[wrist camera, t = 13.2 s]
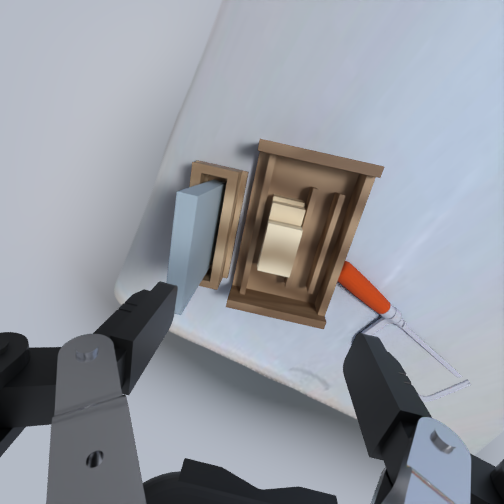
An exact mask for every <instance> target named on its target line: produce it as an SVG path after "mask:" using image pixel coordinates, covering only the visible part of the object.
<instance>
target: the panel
mask: <svg viewBox="0 0 504 504" xmlns="http://www.w3.org/2000/svg"><path fill="white" fill-rule="evenodd" d="M226 184H227V182H223V181H218V180H211V181H208V182H205V183H202V184H198V185H195V186H192V187H189V188H186V189H183V190H180V191H177V195H176V204H175V213H174V221H173V230H172V239H171V248H170V257H169V265H168V274H167V283H169V284H173V285H177V287H178V291H177V298H176V304H175V311H174V314H178V315H181V314H182V312H183V311H184V309H185V307H186V306H187V304H188V302H189V301H190V299H191V297H192V296H193V294H194V292H195V291H196V289H197V287H198V286H199V284H200V282H201V281H202V279H203V277H204V276H205V274H206V273H207V271H208V269H209V268H210V266H211V264H212V263H213V257H214V252H215V246H216V241H217V235H218V230H219V224H220V218H221V213H222V207H223V202H224V196H225V190H226Z"/></svg>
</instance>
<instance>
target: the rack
mask: <svg viewBox="0 0 504 504" xmlns="http://www.w3.org/2000/svg"><path fill="white" fill-rule="evenodd" d="M258 151H260V153H259V158H258V162H257V167H256V172H255V177H254V182H253V187H252V192H251V197H250V201H249V206H248V211H247V216H246V221H245V226H244V231H243V235H242V240H241V245H240V250H239V255H238V260H237V265H236V269H235V274H234V279H233V284H232V287H231V290H230V293H229V296H228V299H227V304H226V307H228V308H233V309H237V310H242V311H246V312H250V313H255V314H259V315H263V316H268V317H272V318H277V319H281V320H285V321H290V322H294V323H298V324H303V325H307V326H312V327H316V328H320V329H324V327H325V324H326V320H325V314H326V311H327V308H328V305H329V303H330V300H331V297H332V295H333V292H334V289H335V286H336V284H337V281H338V278H339V276H340V273H341V270H342V267H343V265H344V262H345V259H346V256H347V254H348V251H349V248H350V246H351V243H352V240H353V237H354V235H355V232H356V229H357V227H358V224H359V221H360V218H361V216H362V213H363V210H364V207H365V205H366V202H367V199H368V197H369V194H370V191H371V188H372V186H373V183H374V180H375V178H376V177H378V178H380V177H381V175H382V172H383V169H384V167H383V166H379V165H375V164H370V163H366V162H361V161H357V160H352V159H348V158H343V157H339V156H334V155H330V154H326V153H321V152H317V151H312V150H308V149H303V148H299V147H294V146H290V145H285V144H281V143H277V142H272V141H268V140H263V139H260V141H259V146H258ZM274 194H276V195H280V196H285V197H289V198H294V199H298V200H303V201H304V203H305V204H304V208H305V210H306V211H305V214H304V218H303V221H302V225H301V227H302V230H303V233H302V236H301V239H300V243H299V246H298V250H297V253H296V257H295V260H294V264H293V267H292V270H291V274H290V277H285V276H280V275H276V274H271V273H267V272H263V271H258V270H257V269H258V267H257V264H258V259H259V255H260V250H261V246H262V242H263V238H264V233H265V229H266V225H267V221H268V217H269V212H270V208H271V204H272V200H273V195H274Z"/></svg>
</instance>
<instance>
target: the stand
mask: <svg viewBox="0 0 504 504" xmlns="http://www.w3.org/2000/svg"><path fill="white" fill-rule="evenodd" d="M247 177H248V172H247V171H243V170H238V169H234V168H229V167H225V166H221V165H216V164H212V163H207V162H203V161H196V162H192V170H191V178H190V186H189V187H192V186H195V185H198V184H202V183H205V182H208V181H211V180H218V181H223V182H227V184H226V190H225V196H224V202H223V207H222V213H221V218H220V224H219V230H218V235H217V241H216V246H215V252H214V257H213V263H212V264H211V266H210V268H209V269H208V271H207V273H206V274H205V276H204V277H203V279H202V281H201V282H200V284H199V286H203V287H207V288H211V289H216V290H217V289H218V287H219V285H220V282H221V280H222V278H227V277H228V274H229V269H230V264H231V259H232V254H233V249H234V244H235V239H236V233H237V228H238V223H239V218H240V213H241V208H242V203H243V198H244V193H245V188H246V183H247Z"/></svg>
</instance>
